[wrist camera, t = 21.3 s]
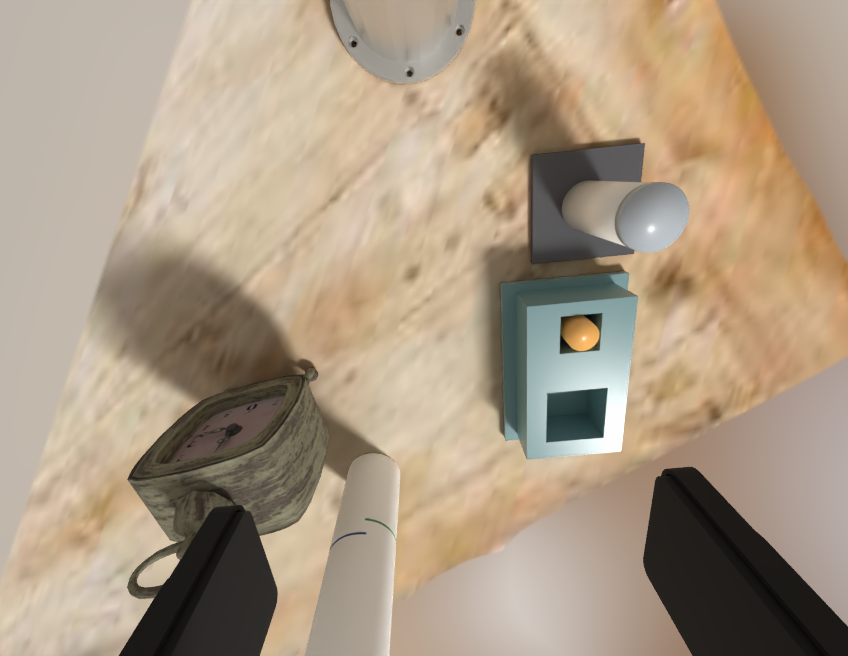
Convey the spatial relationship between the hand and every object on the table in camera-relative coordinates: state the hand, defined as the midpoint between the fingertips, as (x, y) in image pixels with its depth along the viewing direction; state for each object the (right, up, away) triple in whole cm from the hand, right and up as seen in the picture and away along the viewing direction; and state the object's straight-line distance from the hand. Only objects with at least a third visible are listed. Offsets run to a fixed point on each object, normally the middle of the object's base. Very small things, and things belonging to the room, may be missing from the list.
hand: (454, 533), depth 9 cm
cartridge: (+16, +17, +32) cm, 40 cm away
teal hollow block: (+16, +1, +39) cm, 42 cm away
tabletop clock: (-19, -4, +41) cm, 45 cm away
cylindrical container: (-8, -15, +45) cm, 48 cm away
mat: (+16, +18, +32) cm, 40 cm away
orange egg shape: (+15, +5, +35) cm, 38 cm away
